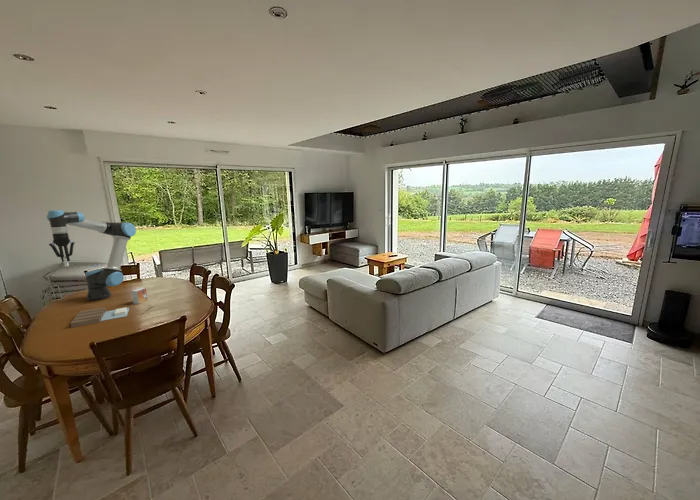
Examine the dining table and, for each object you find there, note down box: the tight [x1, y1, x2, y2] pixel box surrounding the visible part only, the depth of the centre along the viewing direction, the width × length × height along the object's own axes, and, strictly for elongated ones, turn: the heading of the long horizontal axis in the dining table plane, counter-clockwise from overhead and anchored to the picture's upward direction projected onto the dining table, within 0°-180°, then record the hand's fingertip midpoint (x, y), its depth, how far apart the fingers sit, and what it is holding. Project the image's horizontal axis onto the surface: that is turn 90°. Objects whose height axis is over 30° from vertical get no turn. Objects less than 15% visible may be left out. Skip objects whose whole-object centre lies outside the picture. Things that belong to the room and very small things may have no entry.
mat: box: [100, 307, 130, 322], centre depth 201 cm, size 18×14×1 cm
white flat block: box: [114, 307, 128, 316], centre depth 202 cm, size 9×6×2 cm, turn 32°
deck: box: [70, 306, 107, 329], centre depth 193 cm, size 22×14×3 cm, turn 32°
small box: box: [131, 287, 149, 305], centre depth 222 cm, size 8×6×10 cm
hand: (66, 266), depth 198 cm, fingers closed
